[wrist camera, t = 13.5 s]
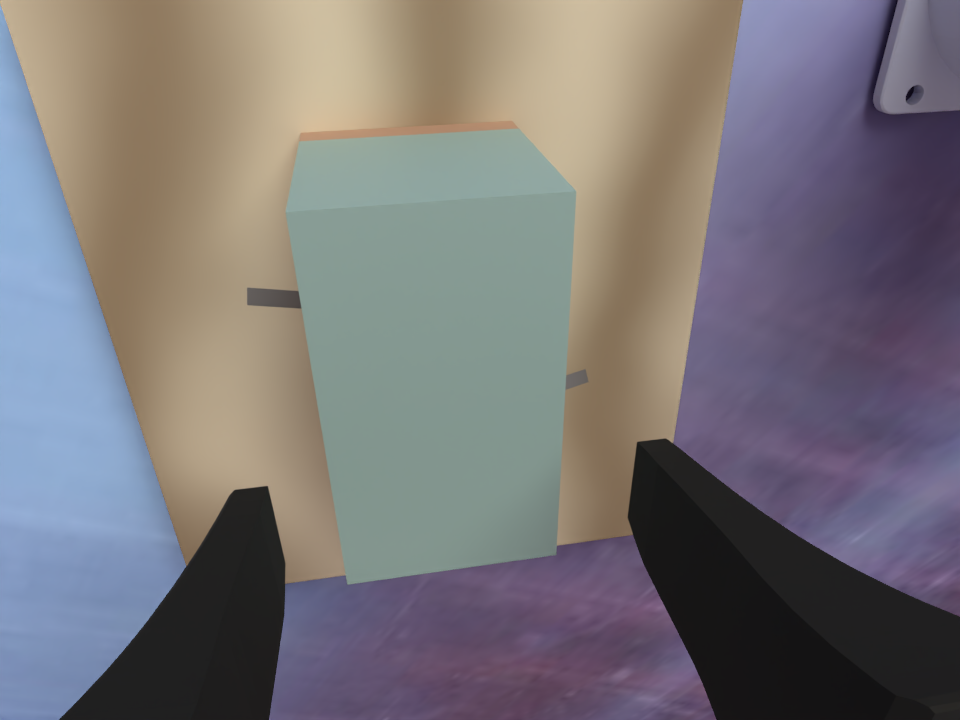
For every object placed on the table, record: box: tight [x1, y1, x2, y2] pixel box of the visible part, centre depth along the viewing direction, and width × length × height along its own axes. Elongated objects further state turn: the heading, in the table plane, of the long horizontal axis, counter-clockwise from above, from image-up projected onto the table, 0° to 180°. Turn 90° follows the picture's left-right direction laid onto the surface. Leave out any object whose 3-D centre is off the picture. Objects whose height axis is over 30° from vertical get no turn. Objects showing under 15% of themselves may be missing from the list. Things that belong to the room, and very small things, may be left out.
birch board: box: [0, 0, 743, 584], centre depth 20 cm, size 16×18×2 cm
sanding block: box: [286, 121, 576, 585], centre depth 17 cm, size 5×9×6 cm, turn 1°
